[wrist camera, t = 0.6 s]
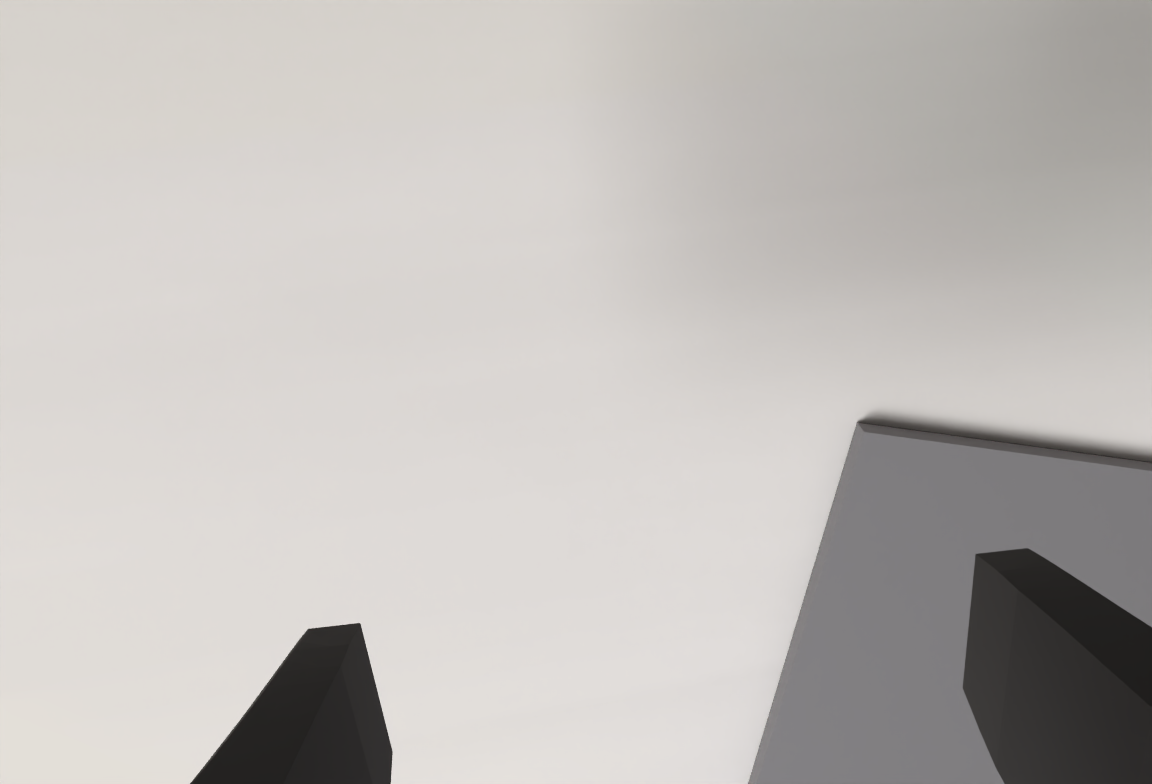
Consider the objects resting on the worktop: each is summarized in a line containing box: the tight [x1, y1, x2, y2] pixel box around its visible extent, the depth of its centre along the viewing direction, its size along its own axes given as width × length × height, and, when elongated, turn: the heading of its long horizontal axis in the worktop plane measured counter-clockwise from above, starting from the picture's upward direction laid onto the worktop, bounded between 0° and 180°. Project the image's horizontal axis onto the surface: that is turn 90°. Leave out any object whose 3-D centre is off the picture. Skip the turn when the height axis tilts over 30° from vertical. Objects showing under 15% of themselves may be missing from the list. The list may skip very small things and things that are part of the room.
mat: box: [748, 423, 1152, 784], centre depth 25 cm, size 12×12×1 cm
